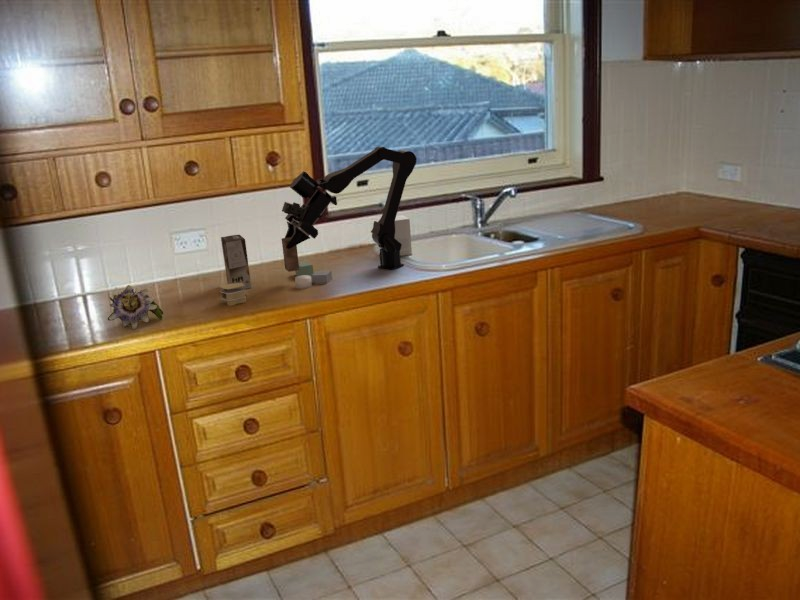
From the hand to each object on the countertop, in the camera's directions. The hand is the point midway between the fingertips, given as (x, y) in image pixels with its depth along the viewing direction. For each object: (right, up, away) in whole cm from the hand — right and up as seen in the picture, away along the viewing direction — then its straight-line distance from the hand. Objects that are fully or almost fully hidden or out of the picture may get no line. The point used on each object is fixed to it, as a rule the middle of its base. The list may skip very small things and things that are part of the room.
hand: (285, 246), depth 235 cm
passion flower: (-38, -24, -26) cm, 52 cm away
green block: (+4, -9, +12) cm, 16 cm away
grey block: (+11, -11, +4) cm, 16 cm away
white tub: (+6, -13, 0) cm, 14 cm away
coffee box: (-16, -13, +4) cm, 21 cm away
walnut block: (+2, -7, +3) cm, 8 cm away
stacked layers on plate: (-13, -18, -12) cm, 26 cm away
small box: (+36, 0, +33) cm, 49 cm away
